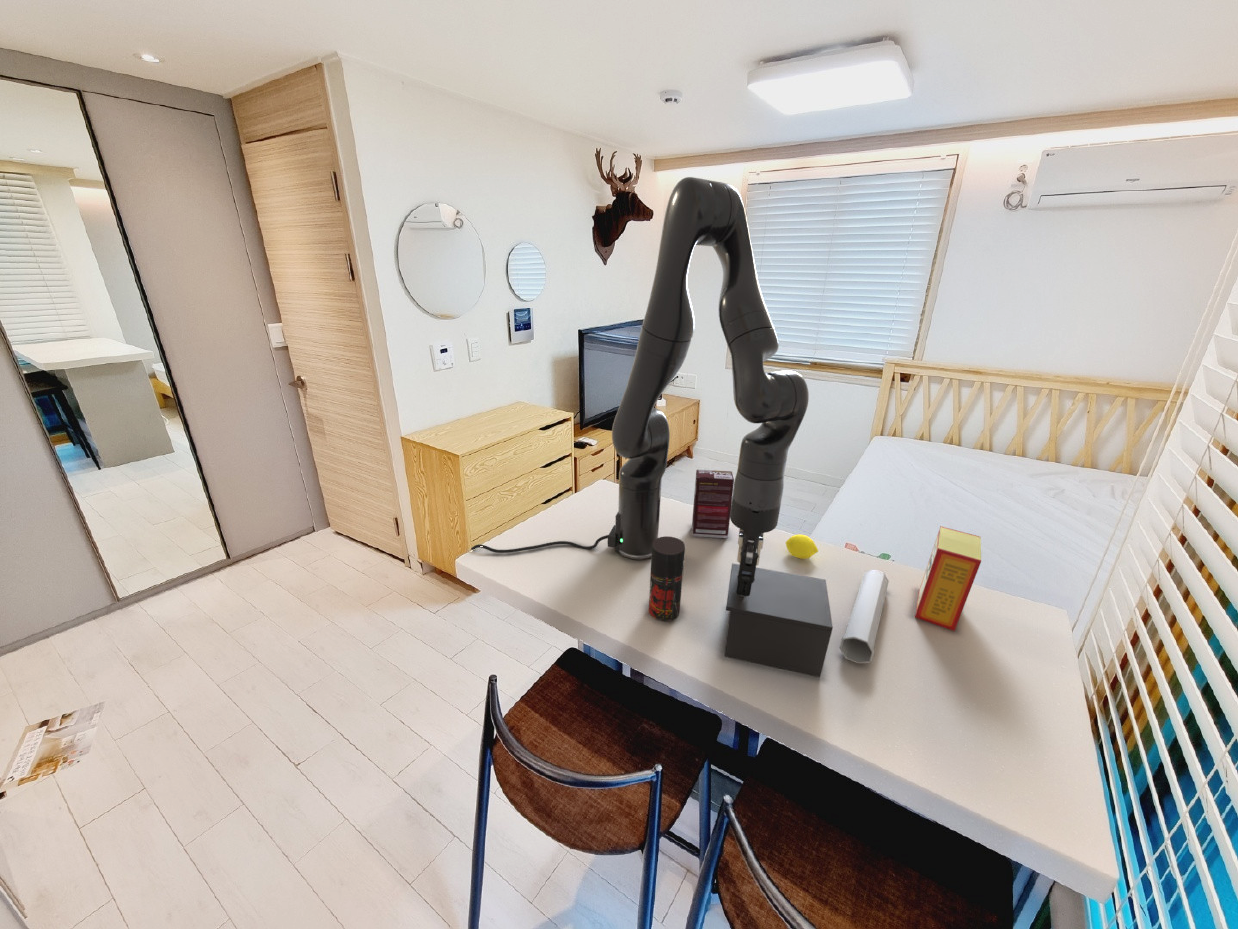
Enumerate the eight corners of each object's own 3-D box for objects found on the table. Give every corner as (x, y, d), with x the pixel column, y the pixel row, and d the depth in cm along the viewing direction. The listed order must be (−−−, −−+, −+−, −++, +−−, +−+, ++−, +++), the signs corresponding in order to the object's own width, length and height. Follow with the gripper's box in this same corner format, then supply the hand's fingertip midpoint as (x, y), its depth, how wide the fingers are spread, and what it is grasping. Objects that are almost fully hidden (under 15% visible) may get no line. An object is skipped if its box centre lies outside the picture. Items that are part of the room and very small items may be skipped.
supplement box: (725, 528, 124) (733, 470, 118) (727, 539, 120) (735, 479, 113) (690, 526, 125) (695, 468, 119) (691, 536, 121) (696, 477, 114)
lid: (725, 610, 82) (729, 586, 80) (731, 566, 94) (734, 544, 91) (831, 631, 78) (838, 606, 76) (824, 583, 90) (830, 559, 87)
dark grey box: (724, 656, 86) (730, 611, 82) (730, 609, 97) (735, 567, 93) (820, 677, 83) (831, 631, 79) (814, 626, 94) (824, 583, 90)
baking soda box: (918, 591, 104) (941, 524, 97) (955, 603, 100) (981, 534, 94) (914, 617, 96) (938, 547, 90) (954, 631, 93) (982, 559, 86)
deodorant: (643, 605, 98) (646, 540, 92) (670, 597, 100) (675, 533, 94) (657, 625, 93) (661, 557, 87) (685, 616, 95) (691, 550, 89)
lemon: (781, 558, 113) (785, 538, 111) (786, 546, 118) (790, 526, 115) (813, 567, 110) (818, 546, 108) (817, 555, 115) (822, 535, 112)
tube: (860, 563, 105) (837, 634, 86) (889, 565, 102) (871, 639, 83) (864, 586, 106) (841, 661, 87) (892, 588, 103) (875, 666, 84)
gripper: (735, 474, 87) (725, 555, 94) (729, 514, 74) (717, 604, 81) (780, 480, 85) (767, 562, 92) (781, 522, 73) (765, 614, 79)
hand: (744, 582), depth 87 cm, fingers closed on lid, 6 cm apart
